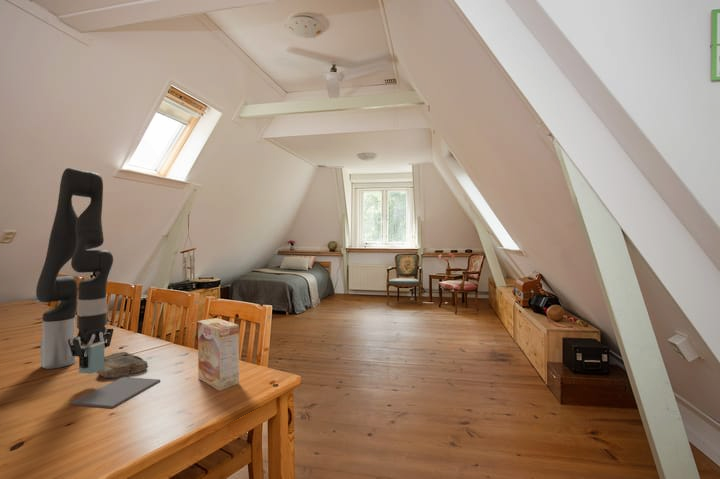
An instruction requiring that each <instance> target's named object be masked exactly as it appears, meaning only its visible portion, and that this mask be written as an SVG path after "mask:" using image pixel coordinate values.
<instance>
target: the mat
mask: <svg viewBox="0 0 720 479" xmlns="http://www.w3.org/2000/svg"><path fill="white" fill-rule="evenodd" d="M160 382H161V379H159V378H157V379H156V378H142V377H128V376H123V377H119V378H118V379H115V380H114V381H112V382H110V383H108V384H106V385H104V386H101V387H99V388H97V389H96V390H93V391H91V392H88V393H86V394H85V395H82V396H79V397H78V398H76V399H74V400H72V401H70V402H69V405H72V406H73V405H75V406H83V407H84V406H85V407H95V408H109V409H113V408H115V407H118V406H119V405H122V403H124V402H126V401H128V400H130V399H131V398H133V397H135V396H137V395H139V394H140V393H142V392H144V391H145V390H148V389H149V388H151V387H153V386H155V385H156V384H158V383H160Z"/></svg>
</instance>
